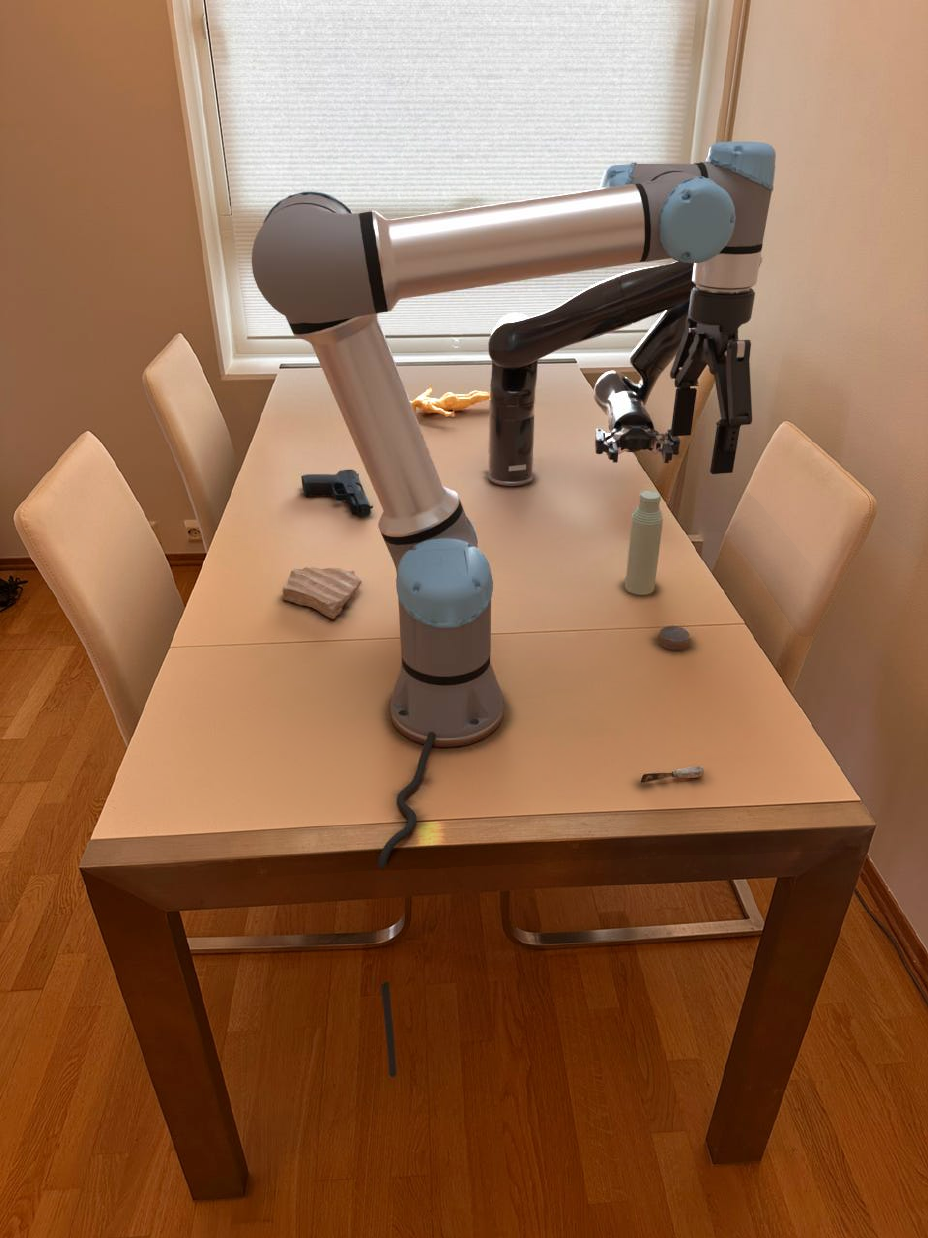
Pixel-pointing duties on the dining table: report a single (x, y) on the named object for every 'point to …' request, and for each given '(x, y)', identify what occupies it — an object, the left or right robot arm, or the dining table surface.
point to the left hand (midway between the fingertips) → (699, 453)
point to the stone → (321, 589)
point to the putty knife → (674, 774)
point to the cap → (674, 638)
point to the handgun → (339, 489)
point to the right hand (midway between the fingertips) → (641, 457)
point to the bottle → (644, 544)
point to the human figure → (448, 402)
